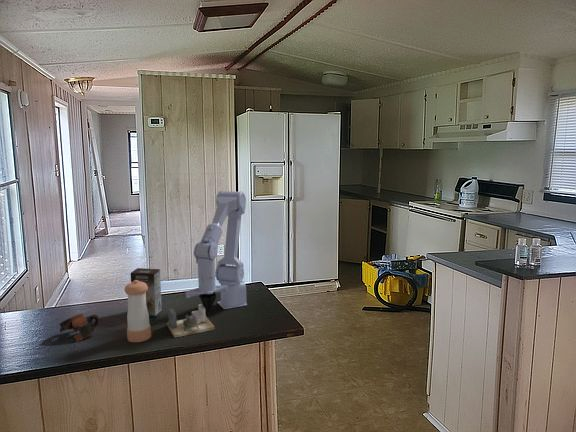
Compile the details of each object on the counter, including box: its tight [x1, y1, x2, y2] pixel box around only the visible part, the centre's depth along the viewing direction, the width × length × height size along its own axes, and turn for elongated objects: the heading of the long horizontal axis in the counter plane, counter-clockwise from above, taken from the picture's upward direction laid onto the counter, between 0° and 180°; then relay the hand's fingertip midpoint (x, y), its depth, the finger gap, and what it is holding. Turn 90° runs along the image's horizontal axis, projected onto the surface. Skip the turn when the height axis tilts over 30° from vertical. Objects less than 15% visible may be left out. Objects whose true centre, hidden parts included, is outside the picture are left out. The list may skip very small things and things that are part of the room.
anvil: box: [167, 307, 178, 329], centre depth 147 cm, size 2×6×5 cm, turn 27°
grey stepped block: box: [185, 303, 207, 324], centre depth 149 cm, size 6×7×5 cm
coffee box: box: [130, 267, 162, 317], centre depth 161 cm, size 9×6×16 cm
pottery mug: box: [59, 313, 101, 343], centre depth 143 cm, size 12×10×8 cm
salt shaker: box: [124, 280, 152, 343], centre depth 139 cm, size 7×7×19 cm
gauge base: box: [166, 316, 216, 339], centre depth 148 cm, size 14×11×2 cm
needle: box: [182, 319, 189, 326], centre depth 144 cm, size 1×4×2 cm, turn 27°
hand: (208, 313), depth 153 cm, fingers closed
